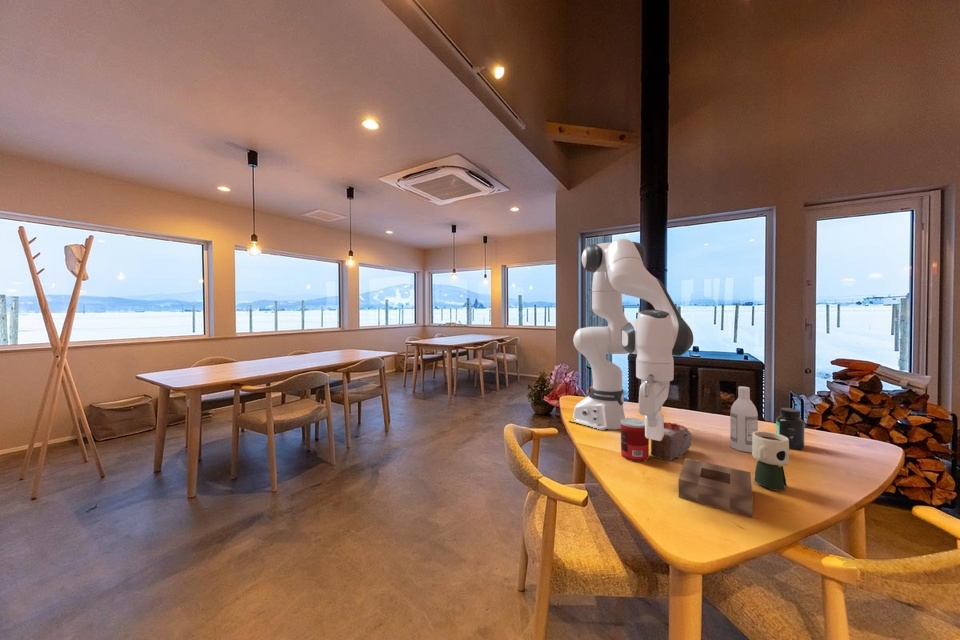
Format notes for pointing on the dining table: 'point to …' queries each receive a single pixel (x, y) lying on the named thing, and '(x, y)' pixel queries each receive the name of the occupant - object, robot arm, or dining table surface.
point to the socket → (717, 486)
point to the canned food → (634, 440)
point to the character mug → (770, 458)
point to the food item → (671, 442)
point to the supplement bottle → (791, 427)
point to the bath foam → (743, 421)
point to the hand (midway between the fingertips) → (654, 423)
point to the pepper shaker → (655, 428)
